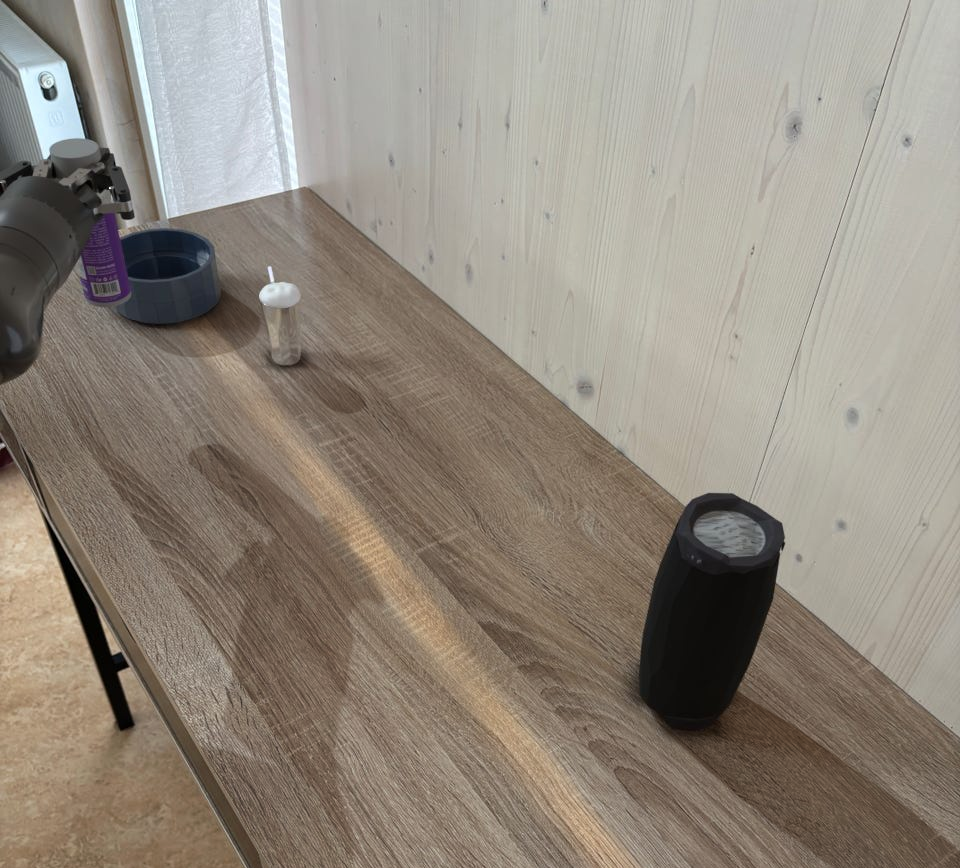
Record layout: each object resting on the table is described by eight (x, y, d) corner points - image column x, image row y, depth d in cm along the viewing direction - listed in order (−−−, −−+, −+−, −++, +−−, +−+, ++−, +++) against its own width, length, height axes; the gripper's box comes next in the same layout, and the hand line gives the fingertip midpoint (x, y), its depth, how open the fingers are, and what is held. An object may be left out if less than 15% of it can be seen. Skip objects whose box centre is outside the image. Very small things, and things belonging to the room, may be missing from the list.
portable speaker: (754, 698, 91) (818, 528, 76) (684, 755, 86) (738, 587, 72) (678, 641, 95) (726, 471, 80) (608, 693, 90) (645, 522, 76)
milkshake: (296, 341, 125) (288, 262, 118) (311, 364, 122) (304, 285, 115) (259, 348, 124) (249, 269, 117) (274, 372, 121) (264, 293, 113)
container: (140, 289, 110) (110, 143, 99) (115, 311, 107) (81, 162, 96) (101, 280, 111) (67, 134, 100) (75, 301, 107) (37, 152, 96)
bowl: (112, 332, 125) (101, 286, 120) (112, 277, 133) (102, 231, 129) (225, 323, 127) (218, 277, 123) (218, 269, 136) (211, 224, 131)
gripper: (105, 202, 87) (153, 120, 98) (-67, 193, 86) (2, 111, 98) (124, 286, 92) (167, 198, 104) (-38, 277, 92) (24, 190, 104)
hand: (87, 156), depth 101 cm, fingers closed on container, 3 cm apart
